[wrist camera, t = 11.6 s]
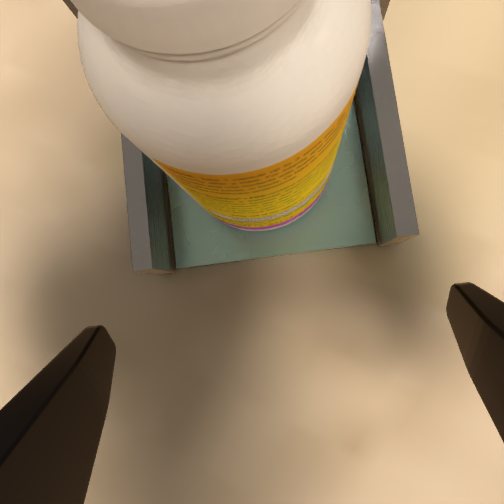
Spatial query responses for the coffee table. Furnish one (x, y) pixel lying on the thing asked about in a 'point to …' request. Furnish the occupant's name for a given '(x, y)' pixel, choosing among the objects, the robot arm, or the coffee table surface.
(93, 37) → the supplement bottle
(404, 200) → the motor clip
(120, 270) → the coffee table surface
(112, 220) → the coffee table surface
